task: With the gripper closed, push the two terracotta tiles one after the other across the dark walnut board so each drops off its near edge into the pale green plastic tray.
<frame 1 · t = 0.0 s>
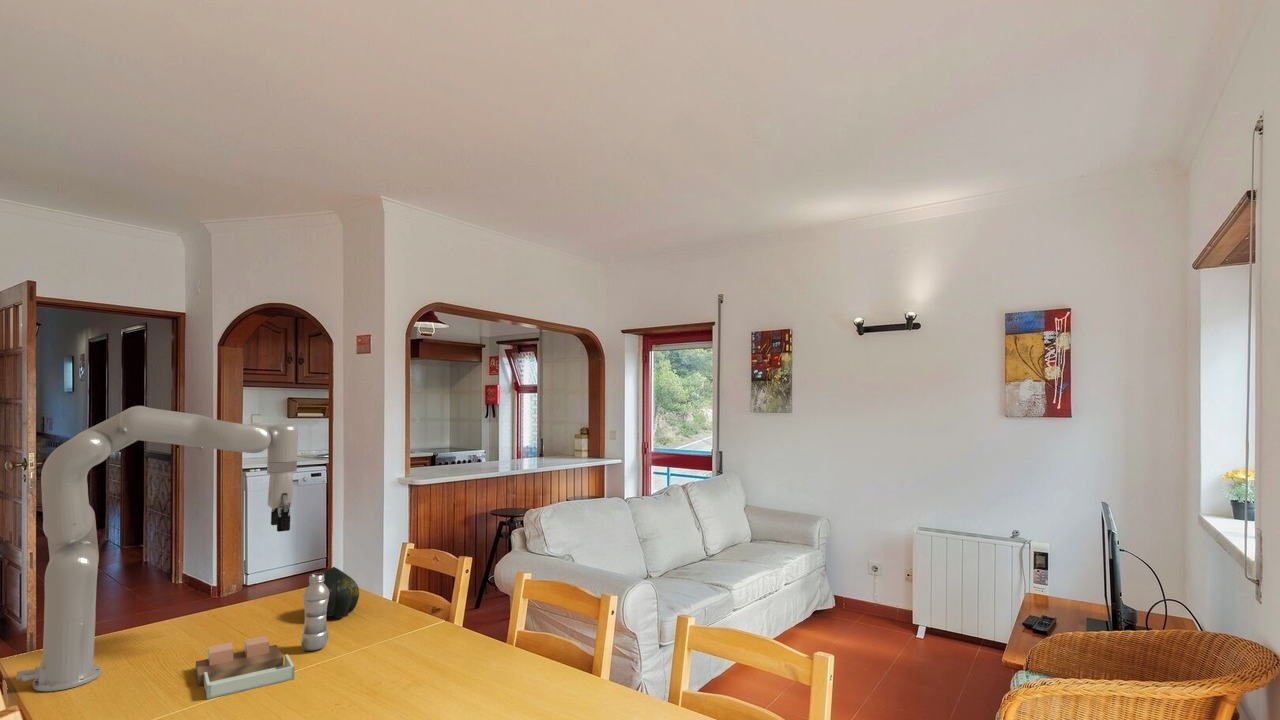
hand: (280, 527, 189), 31 cm above the table, fingers open, 9 cm apart
tile a: (220, 659, 167), point 2 cm above the table, touching board
tray: (249, 682, 161), on the table
plastic bottle: (314, 649, 181), on the table
squash: (331, 615, 207), on the table
tile b: (256, 652, 172), point 2 cm above the table, touching board
board: (239, 669, 167), on the table
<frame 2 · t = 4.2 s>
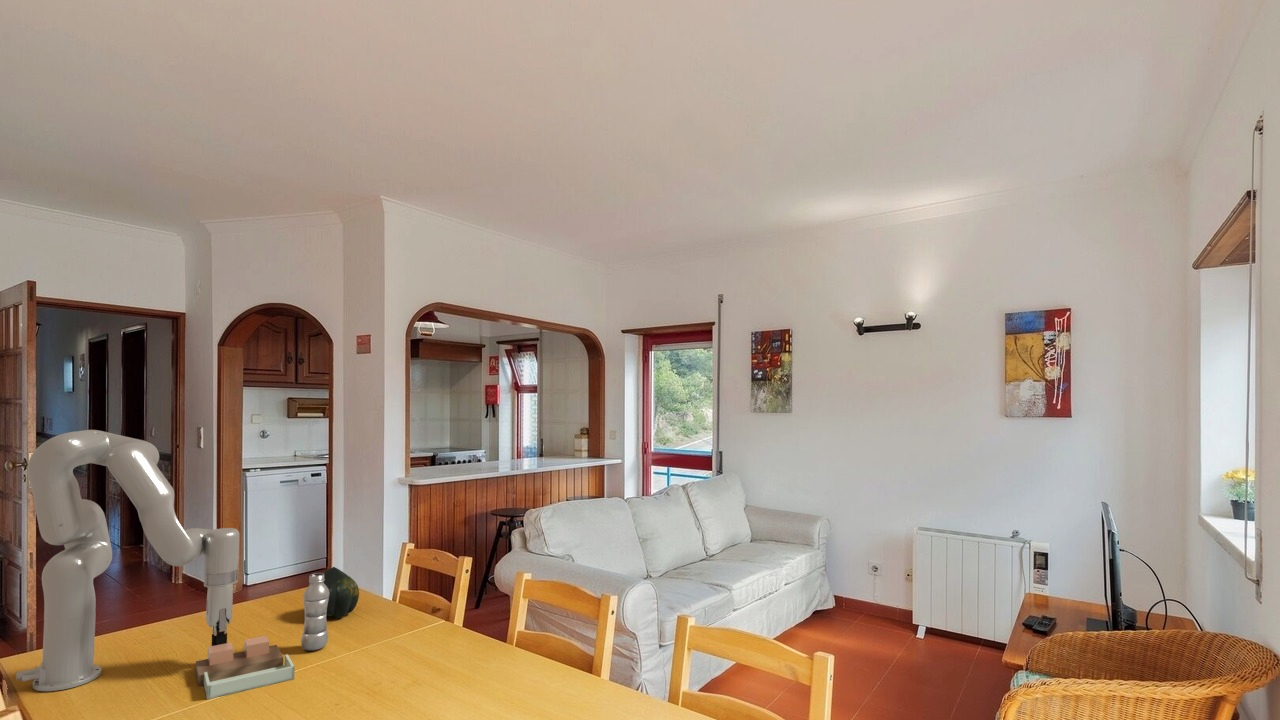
hand: (219, 649, 171), 4 cm above the table, fingers closed
tile a: (220, 659, 167), point 3 cm above the table, touching gripper
everything else where it was.
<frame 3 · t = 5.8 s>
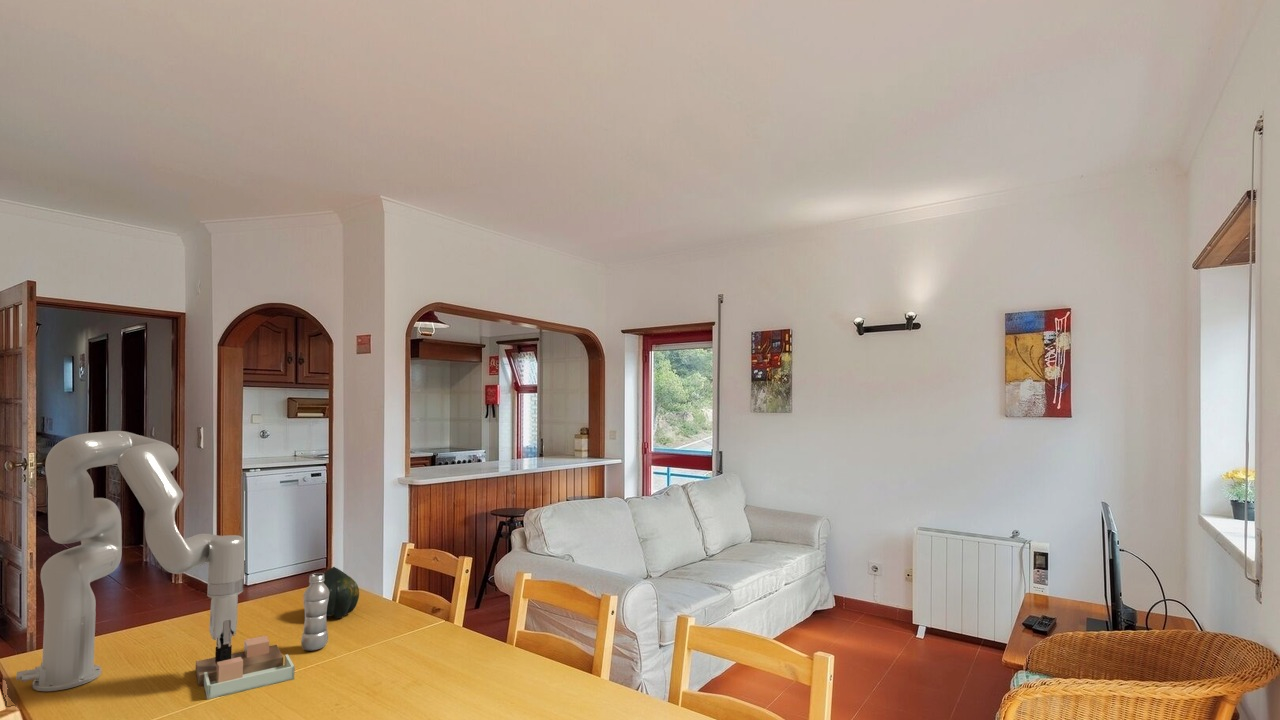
hand: (223, 662, 163), 4 cm above the table, fingers closed
tile a: (228, 669, 160), point 3 cm above the table, tilted 90°, touching tray
everything else where it was.
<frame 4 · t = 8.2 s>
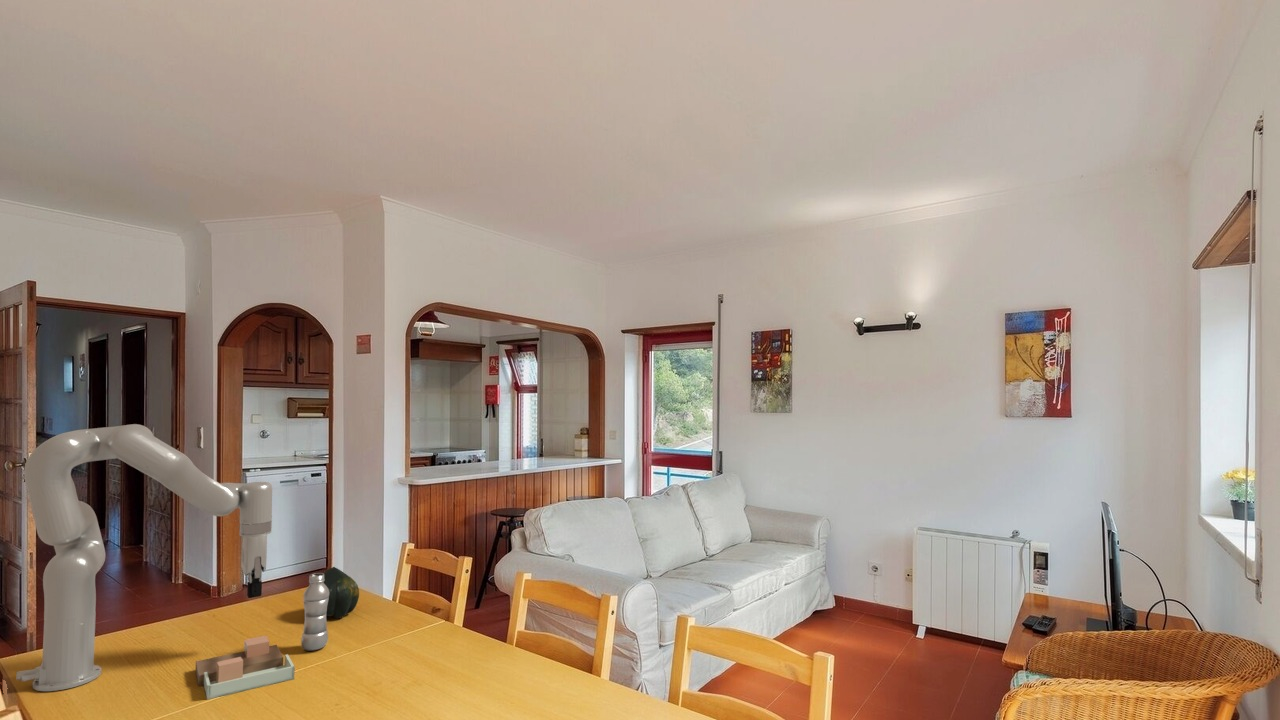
hand: (254, 596, 179), 15 cm above the table, fingers closed
nothing on the table moved.
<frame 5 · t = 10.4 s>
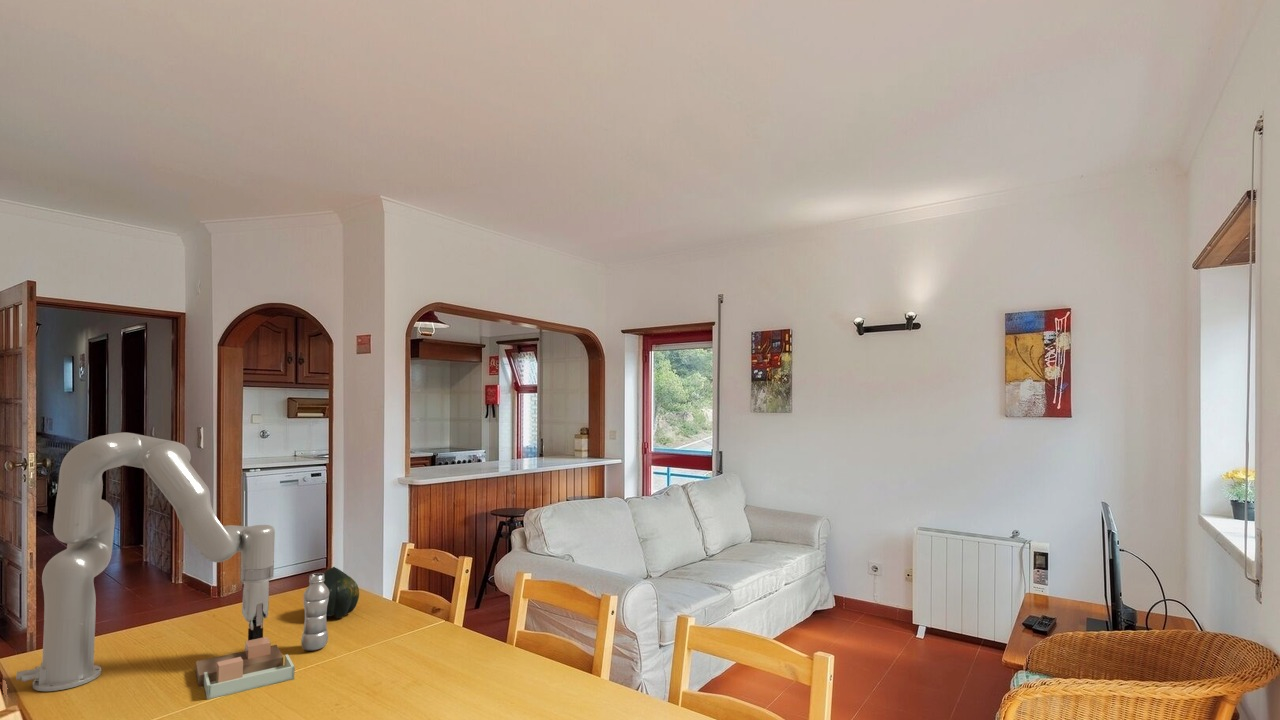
hand: (255, 643, 175), 4 cm above the table, fingers closed
tile b: (257, 653, 171), point 3 cm above the table, touching board, gripper
everything else where it was.
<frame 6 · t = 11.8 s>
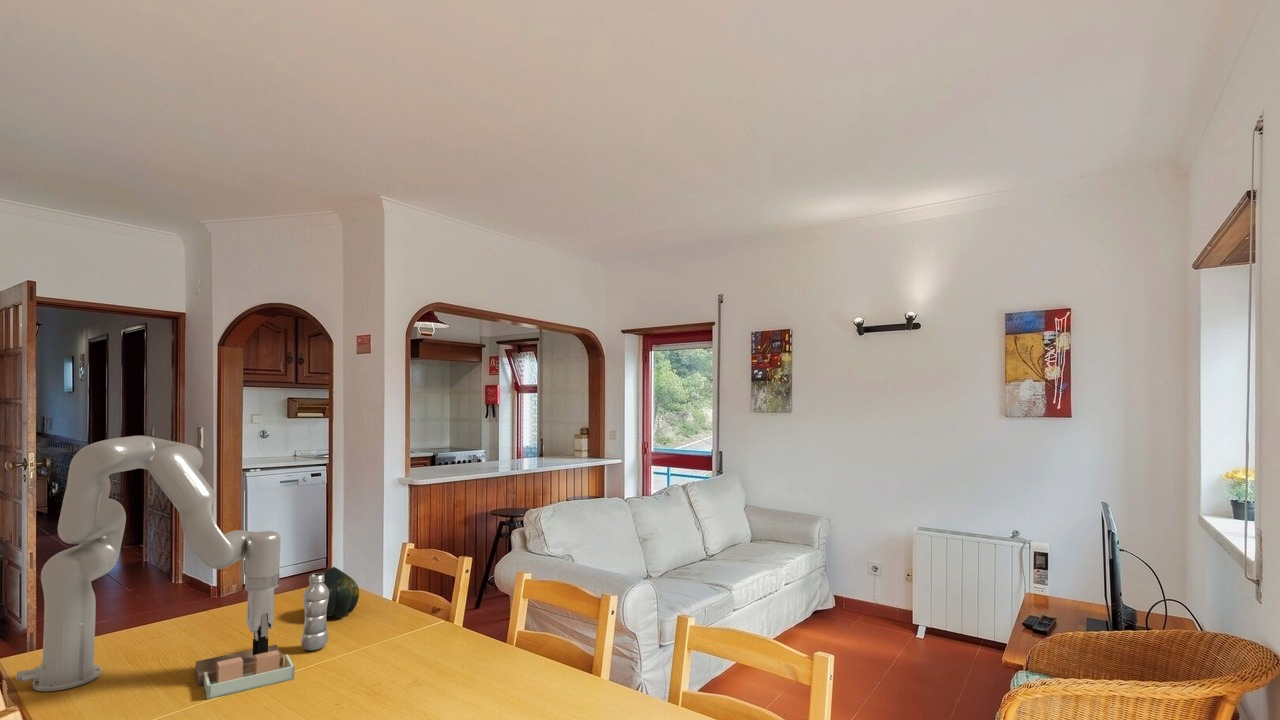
hand: (260, 654, 168), 4 cm above the table, fingers closed
tile b: (265, 662, 165), point 3 cm above the table, tilted 90°, touching tray
everything else where it was.
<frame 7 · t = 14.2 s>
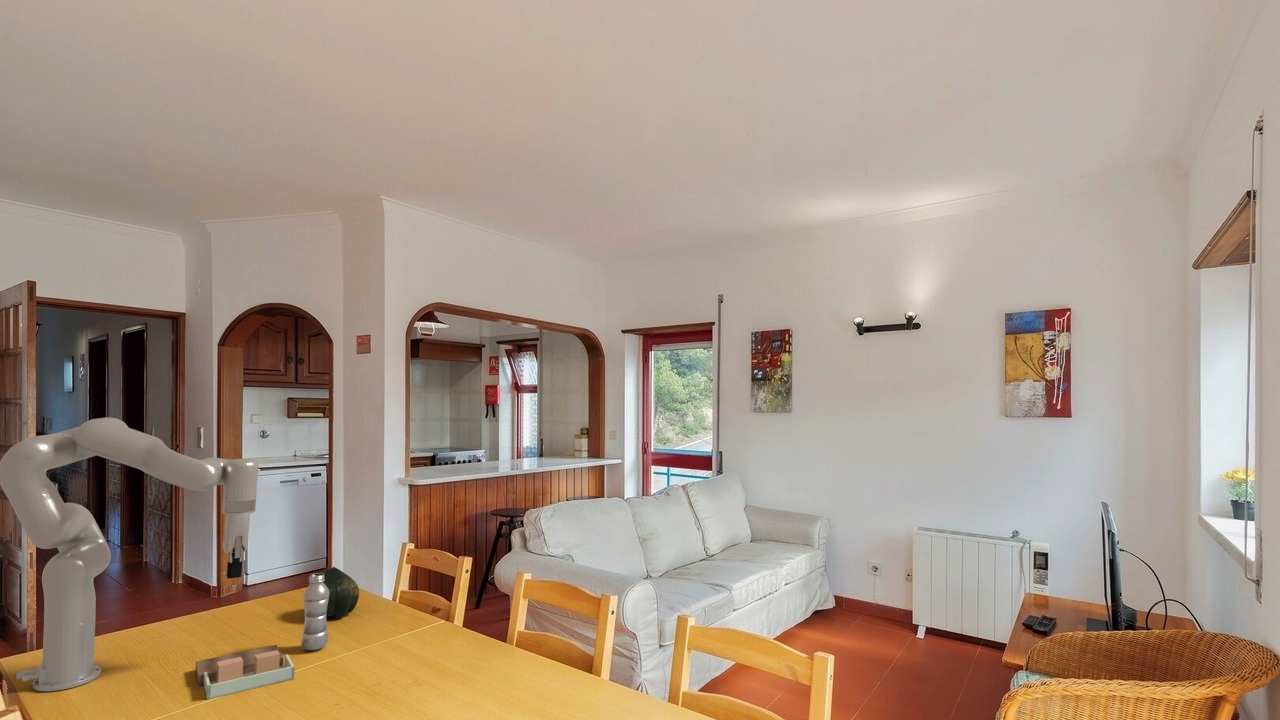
hand: (233, 577, 173), 22 cm above the table, fingers closed
nothing on the table moved.
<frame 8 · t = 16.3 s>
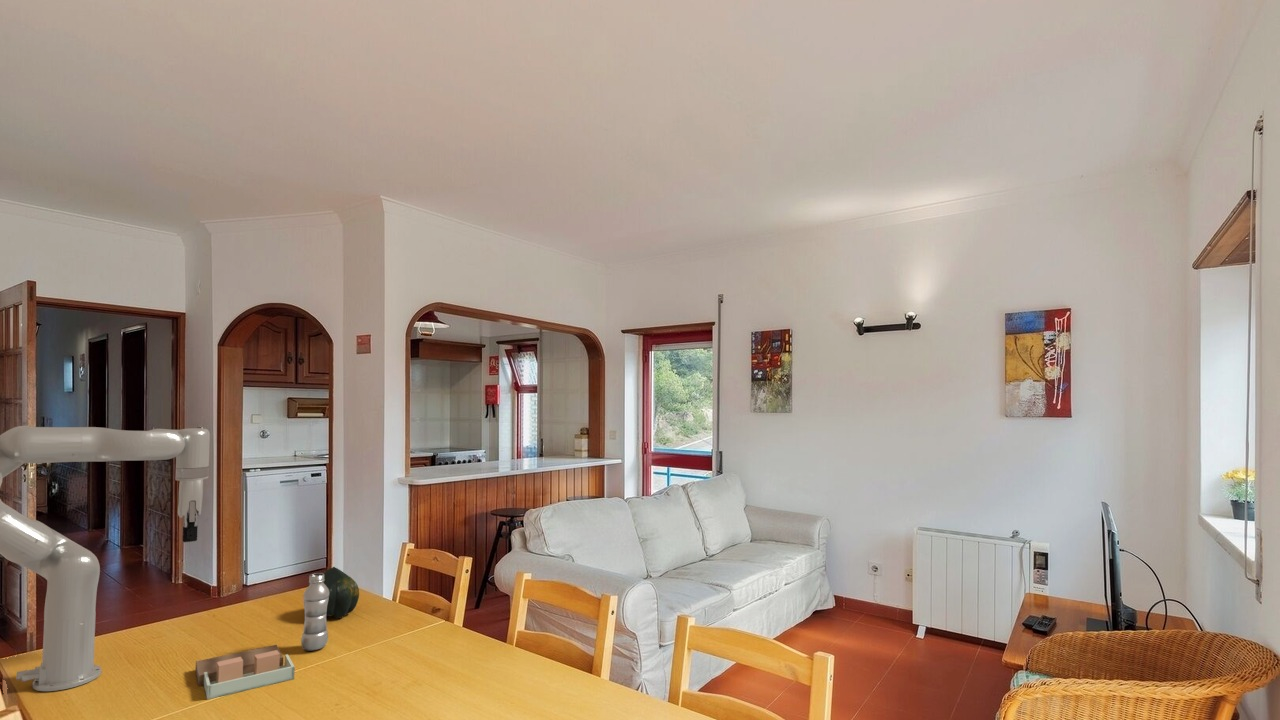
hand: (189, 540, 181), 29 cm above the table, fingers closed
nothing on the table moved.
at the end: tile a inside the target area on the tray (5.2 cm from its centre), point 2.9 cm above the tray's base; tile b inside the target area on the tray (4.6 cm from its centre), point 2.9 cm above the tray's base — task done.
